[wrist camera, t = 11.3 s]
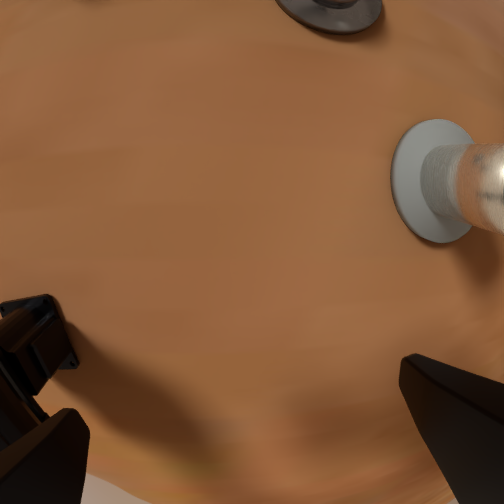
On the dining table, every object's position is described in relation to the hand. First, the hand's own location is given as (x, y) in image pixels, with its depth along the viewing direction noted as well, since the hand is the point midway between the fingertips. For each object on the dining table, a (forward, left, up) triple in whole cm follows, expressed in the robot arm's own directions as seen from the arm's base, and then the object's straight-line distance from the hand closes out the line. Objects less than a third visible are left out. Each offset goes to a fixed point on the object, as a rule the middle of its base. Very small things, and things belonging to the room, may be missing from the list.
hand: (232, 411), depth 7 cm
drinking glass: (+16, +3, -12) cm, 20 cm away
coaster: (+16, +3, -13) cm, 21 cm away
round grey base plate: (+10, +18, -13) cm, 24 cm away
